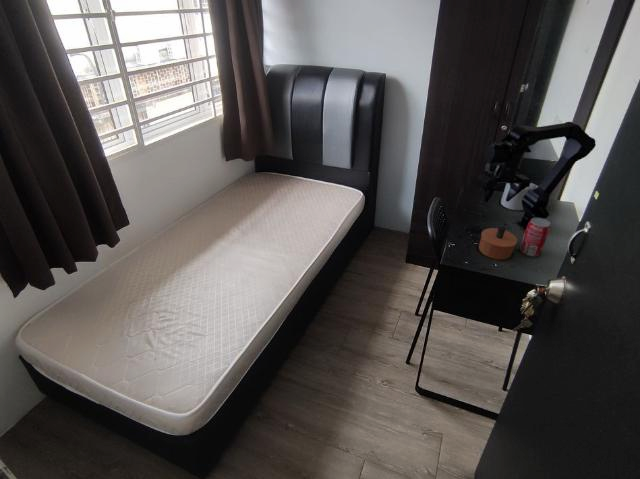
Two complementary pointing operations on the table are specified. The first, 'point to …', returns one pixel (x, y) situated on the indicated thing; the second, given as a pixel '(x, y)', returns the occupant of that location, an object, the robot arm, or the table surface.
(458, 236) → the table surface
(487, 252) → the pot
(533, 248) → the soda can
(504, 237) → the pot lid
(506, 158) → the robot arm
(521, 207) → the toilet tissue
